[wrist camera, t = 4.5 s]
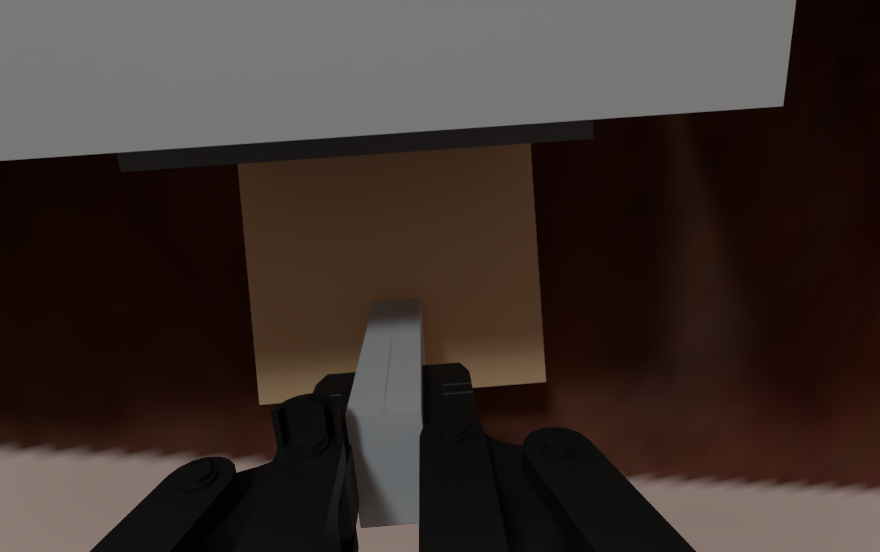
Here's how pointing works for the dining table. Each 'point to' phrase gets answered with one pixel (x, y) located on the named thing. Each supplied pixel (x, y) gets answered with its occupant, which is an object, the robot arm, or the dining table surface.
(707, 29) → the box
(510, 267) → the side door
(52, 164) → the dining table surface
